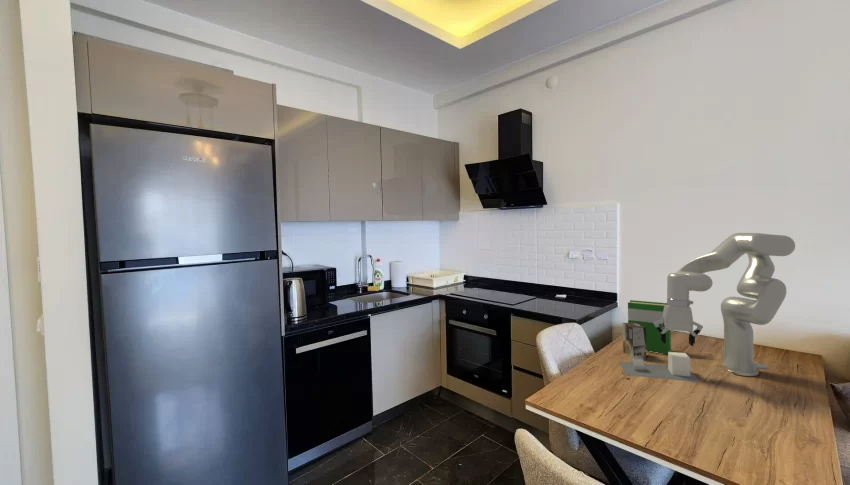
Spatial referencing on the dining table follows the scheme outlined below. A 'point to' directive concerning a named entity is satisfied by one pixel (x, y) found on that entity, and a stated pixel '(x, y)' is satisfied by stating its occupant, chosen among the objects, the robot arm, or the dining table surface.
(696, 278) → the robot arm
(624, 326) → the coffee box
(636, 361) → the post
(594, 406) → the dining table surface
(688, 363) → the small cream cube
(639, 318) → the hardback book
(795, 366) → the dining table surface
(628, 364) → the board
